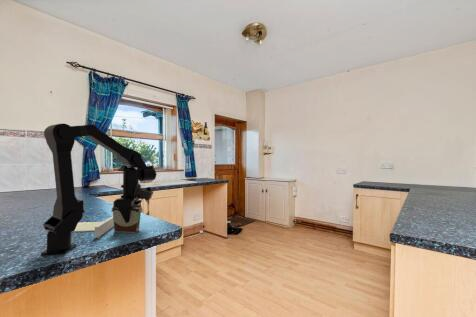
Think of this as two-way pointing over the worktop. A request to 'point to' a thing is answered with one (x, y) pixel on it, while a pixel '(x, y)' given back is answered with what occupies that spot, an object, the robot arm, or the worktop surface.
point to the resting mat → (86, 226)
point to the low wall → (104, 227)
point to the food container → (133, 221)
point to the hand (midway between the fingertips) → (130, 220)
